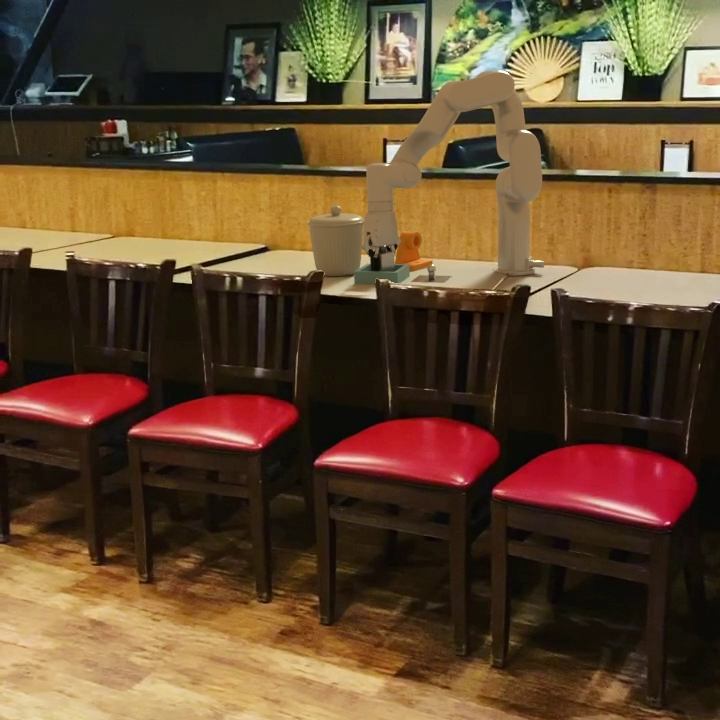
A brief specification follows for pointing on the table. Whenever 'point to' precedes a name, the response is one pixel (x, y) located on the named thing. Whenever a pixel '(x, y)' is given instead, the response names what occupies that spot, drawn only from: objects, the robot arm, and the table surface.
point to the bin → (381, 274)
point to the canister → (337, 242)
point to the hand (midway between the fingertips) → (382, 268)
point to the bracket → (411, 251)
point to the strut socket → (385, 259)
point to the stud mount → (431, 276)
